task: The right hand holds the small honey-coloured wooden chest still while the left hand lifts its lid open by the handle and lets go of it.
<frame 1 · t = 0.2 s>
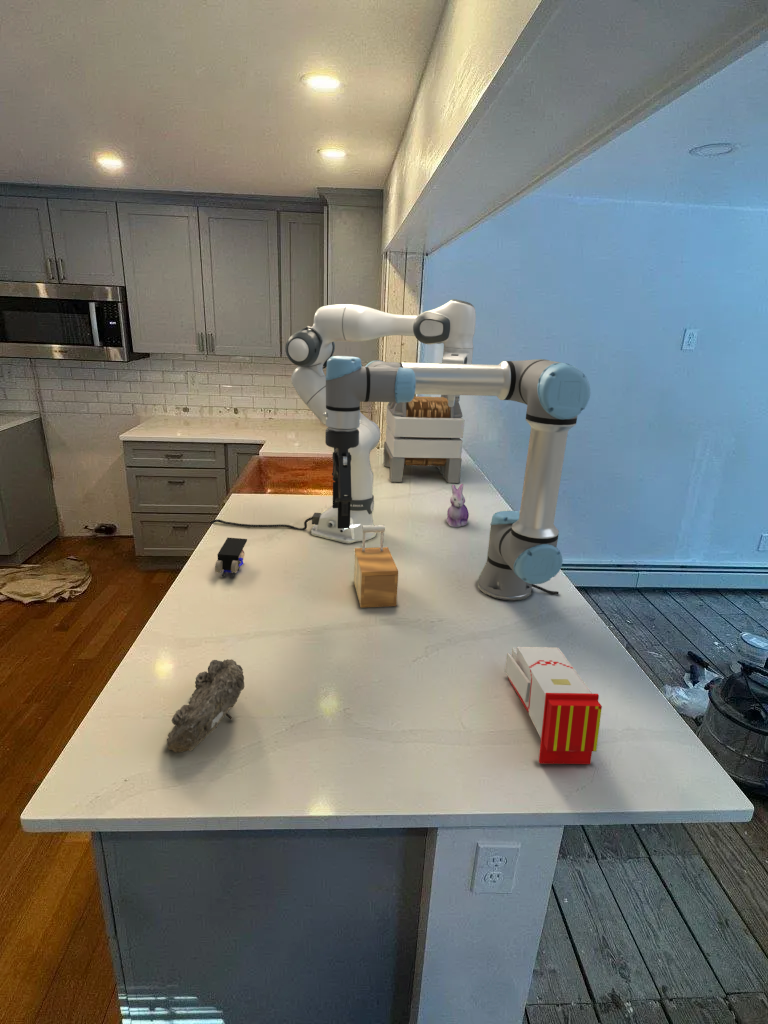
left hand: (453, 404, 174), 48 cm above the counter, tool pointing down, fingers open, 8 cm apart
right hand: (340, 517, 134), 28 cm above the counter, tool pointing down, fingers open, 13 cm apart
transformer: (419, 473, 275), on the counter
figurine: (457, 523, 212), on the counter
grey brown lumpy piece: (212, 717, 108), on the counter
lid: (376, 547, 153), point 14 cm above the counter, hinge at 0.0°
chest: (374, 593, 157), on the counter
toy: (541, 713, 113), on the counter
figurine character: (232, 569, 168), on the counter
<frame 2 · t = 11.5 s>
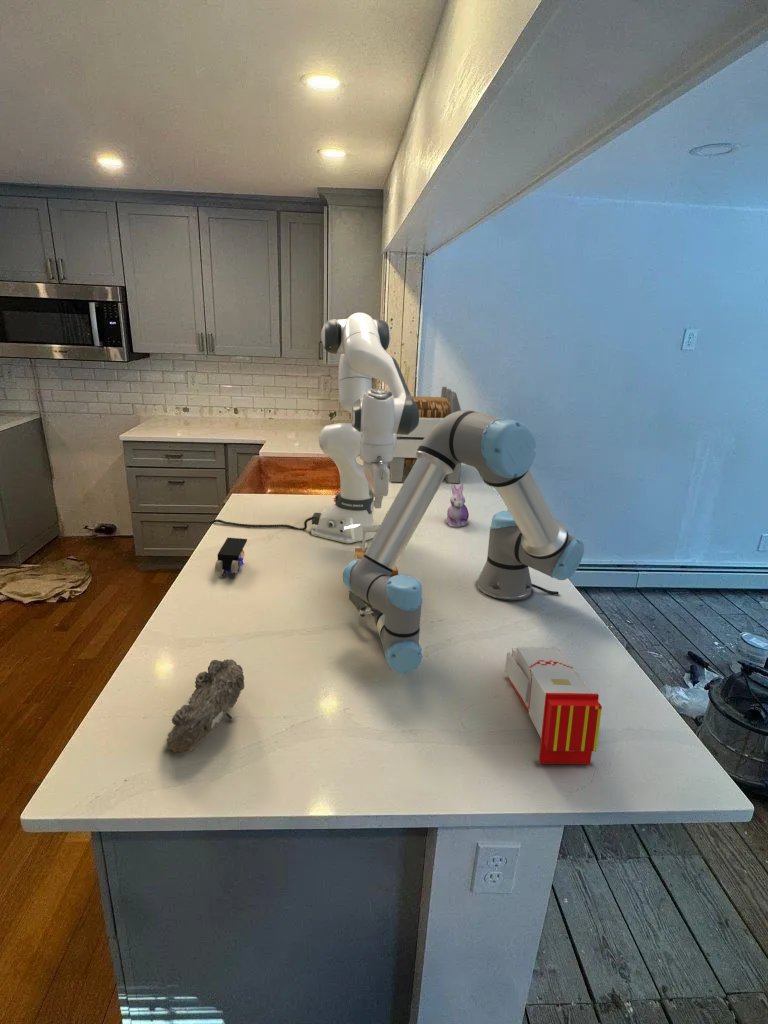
left hand: (374, 501, 154), 25 cm above the counter, tool pointing down, fingers open, 8 cm apart
right hand: (377, 579, 152), 6 cm above the counter, tool horizontal, fingers closed on chest, 10 cm apart
chest: (374, 593, 157), on the counter, touching right hand
everything else where it was.
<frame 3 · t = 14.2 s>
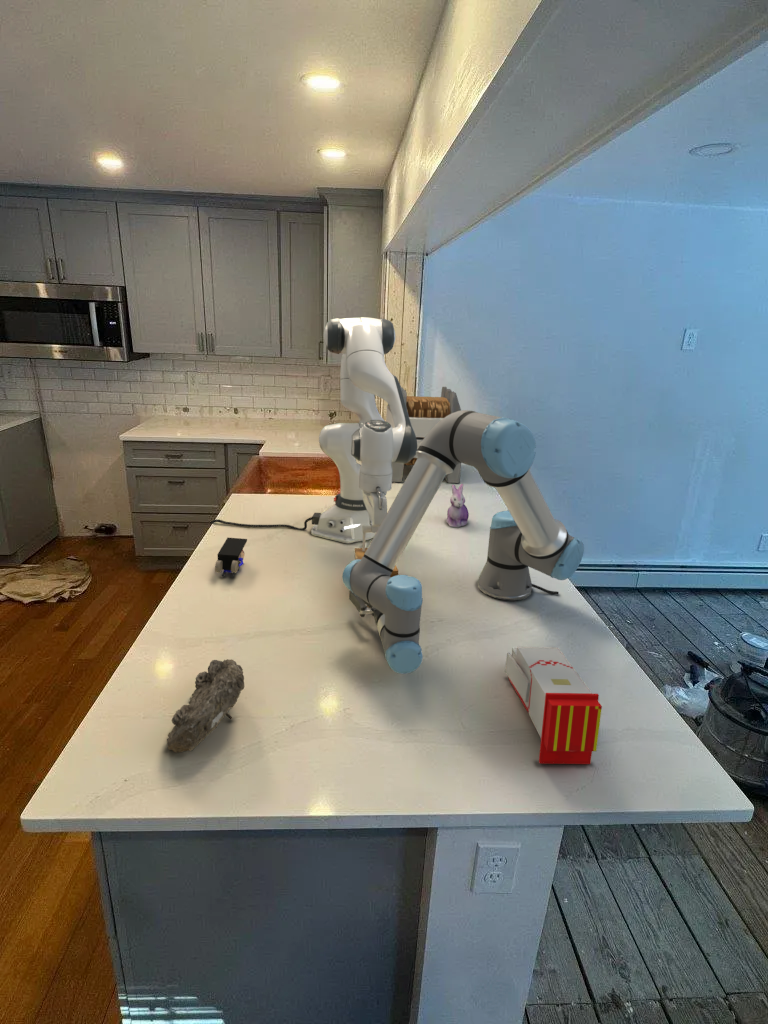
left hand: (373, 529, 157), 17 cm above the counter, tool pointing down, fingers closed on lid, 2 cm apart
right hand: (377, 579, 152), 6 cm above the counter, tool horizontal, fingers closed on chest, 10 cm apart
lid: (376, 547, 153), point 14 cm above the counter, hinge at 0.0°, touching left hand
chest: (374, 593, 157), on the counter, touching right hand
everything else where it was.
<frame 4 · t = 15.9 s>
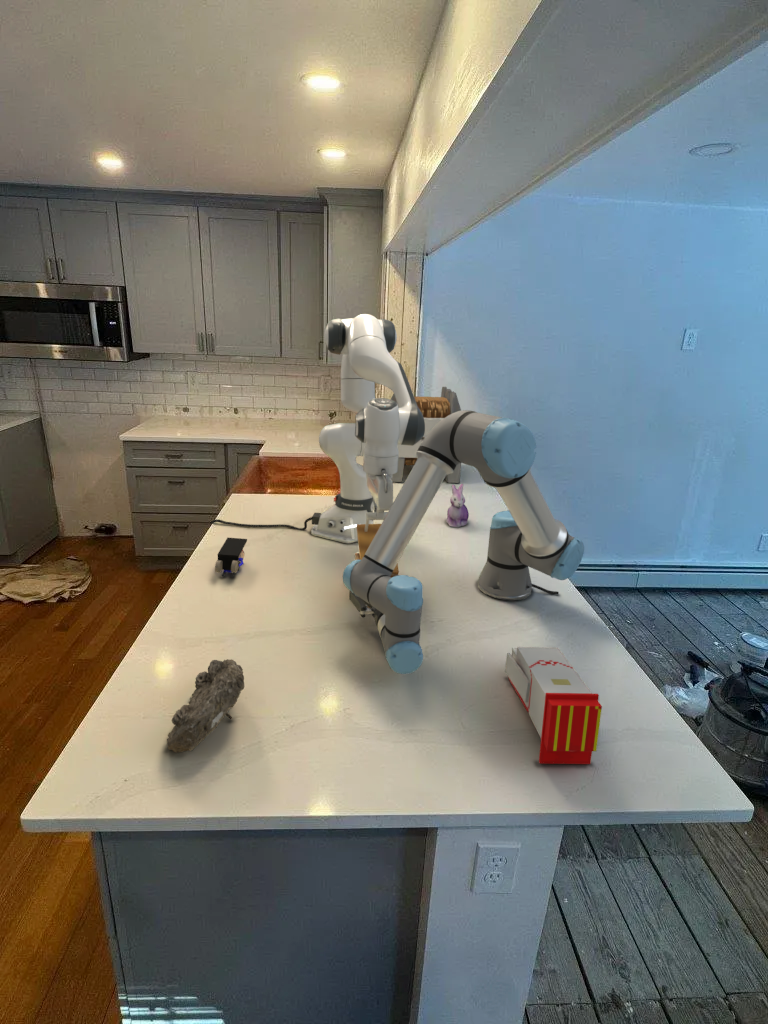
left hand: (378, 515, 149), 24 cm above the counter, tool pointing down, fingers closed
right hand: (377, 579, 151), 6 cm above the counter, tool horizontal, fingers closed on chest, 10 cm apart
lid: (378, 540, 149), point 17 cm above the counter, hinge at 32.9°, touching left hand
chest: (374, 593, 157), on the counter, touching right hand
everything else where it was.
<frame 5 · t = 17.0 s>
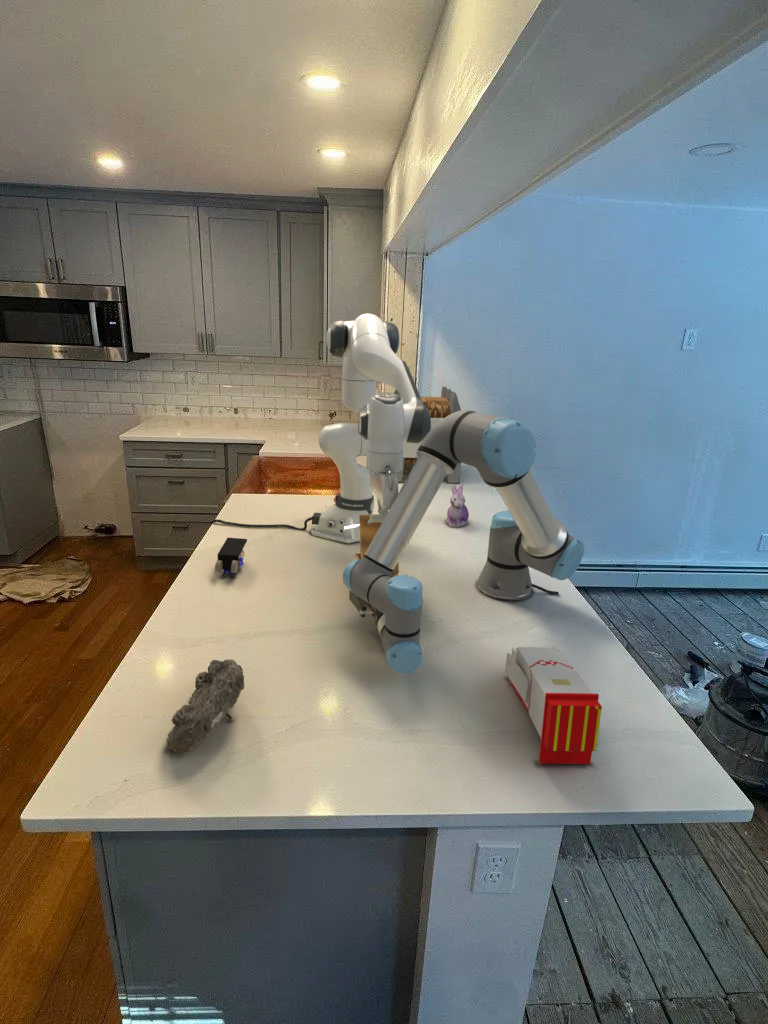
left hand: (382, 515, 142), 26 cm above the counter, tool pointing down, fingers closed on lid
right hand: (377, 579, 151), 6 cm above the counter, tool horizontal, fingers closed on chest, 10 cm apart
lid: (381, 542, 145), point 18 cm above the counter, hinge at 58.6°, touching left hand
chest: (374, 593, 157), on the counter, touching right hand
everything else where it was.
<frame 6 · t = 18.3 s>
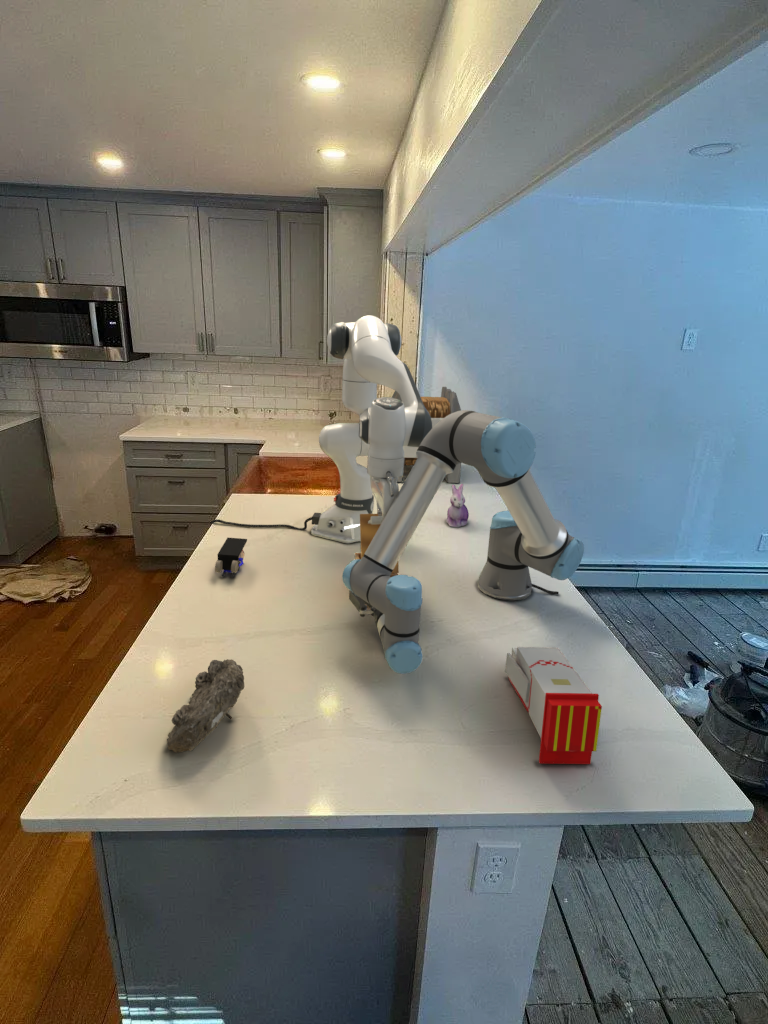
left hand: (383, 520, 142), 25 cm above the counter, tool pointing down, fingers open, 5 cm apart
right hand: (377, 579, 152), 6 cm above the counter, tool horizontal, fingers closed on chest, 10 cm apart
lid: (381, 542, 144), point 19 cm above the counter, hinge at 64.0°
chest: (374, 593, 157), on the counter, touching right hand
everything else where it was.
when the right hand's fingers open (6 cm above the counter, at t = 21.8 s): chest stays where it is, on the counter.
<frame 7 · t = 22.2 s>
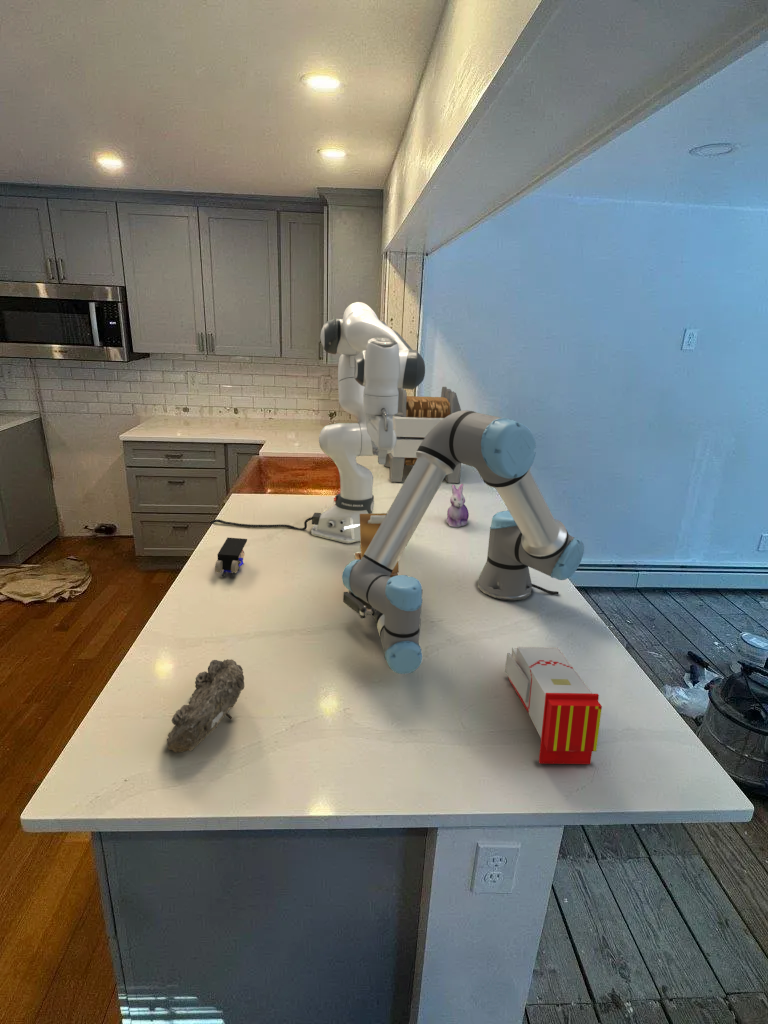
left hand: (378, 459, 147), 38 cm above the counter, tool pointing down, fingers open, 8 cm apart
right hand: (378, 581, 150), 6 cm above the counter, tool horizontal, fingers open, 13 cm apart
lid: (381, 542, 144), point 19 cm above the counter, hinge at 63.3°
chest: (374, 593, 157), on the counter
everything else where it was.
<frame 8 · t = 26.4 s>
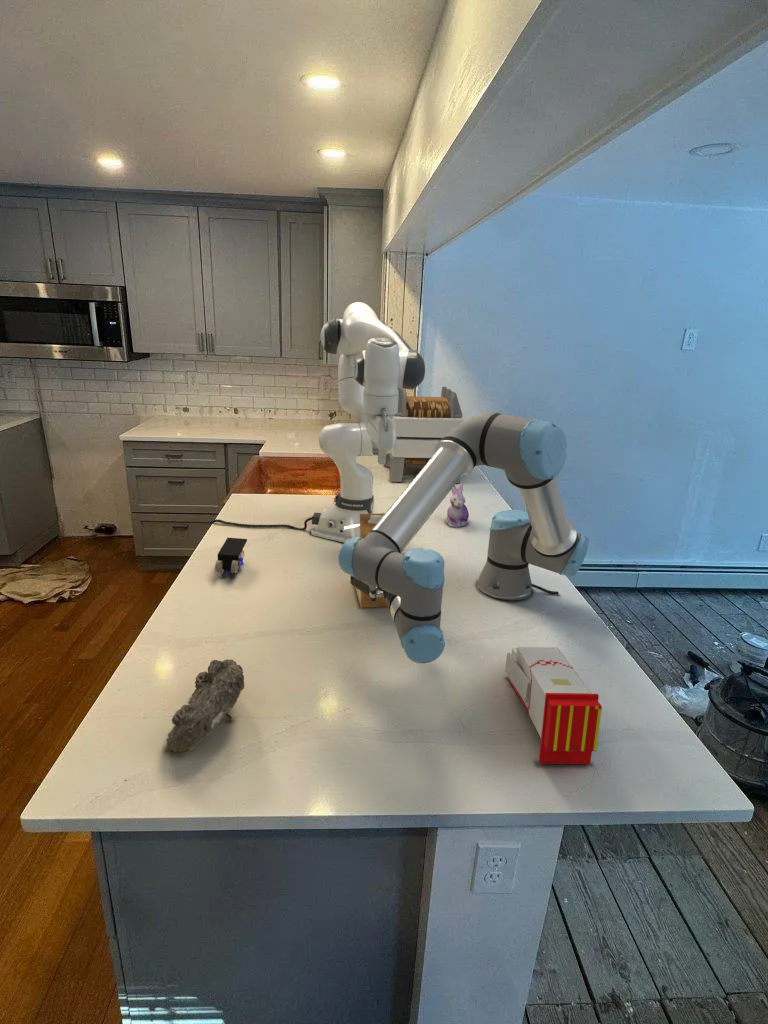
left hand: (378, 459, 147), 38 cm above the counter, tool pointing down, fingers open, 8 cm apart
right hand: (389, 561, 134), 19 cm above the counter, tool horizontal, fingers open, 13 cm apart
nothing on the counter moved.
at the end: lid at +63° (first picture: +0°); the left hand is holding nothing; the right hand is holding nothing; chest tilted 0°; chest never tilted more than 1° during the clip; chest moved 0.1 cm from its start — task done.
